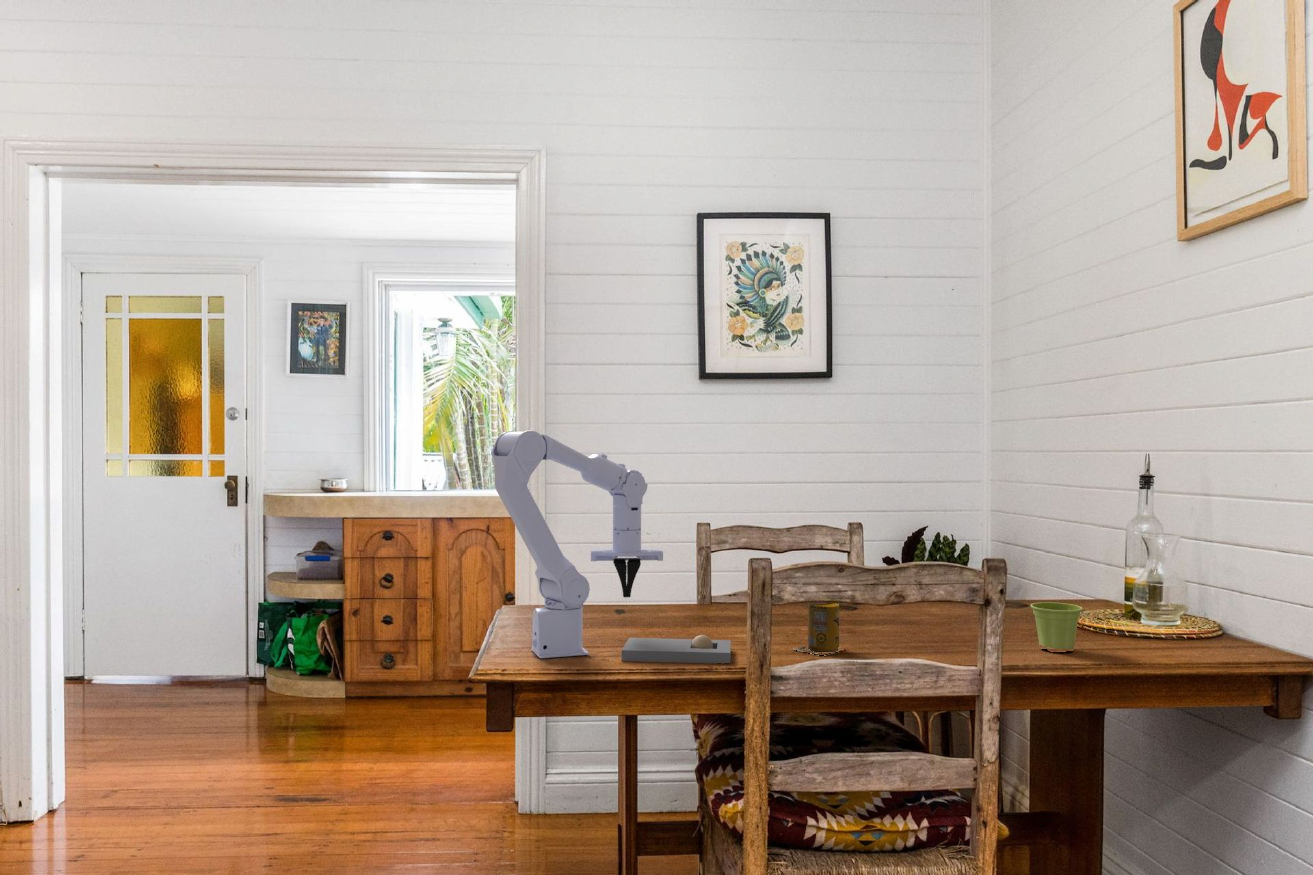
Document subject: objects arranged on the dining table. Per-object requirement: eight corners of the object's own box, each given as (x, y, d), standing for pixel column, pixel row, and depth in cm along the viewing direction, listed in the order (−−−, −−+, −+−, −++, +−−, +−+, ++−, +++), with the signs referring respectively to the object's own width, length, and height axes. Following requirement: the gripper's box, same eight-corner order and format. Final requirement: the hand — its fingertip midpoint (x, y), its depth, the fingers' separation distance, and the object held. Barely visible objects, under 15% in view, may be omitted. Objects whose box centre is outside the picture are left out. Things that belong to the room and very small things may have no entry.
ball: (709, 640, 168) (703, 660, 168) (718, 638, 171) (712, 658, 171) (691, 632, 170) (685, 652, 170) (700, 631, 173) (694, 650, 173)
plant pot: (1030, 653, 174) (1030, 608, 174) (1030, 643, 183) (1030, 600, 183) (1084, 657, 170) (1084, 611, 170) (1080, 647, 179) (1080, 603, 179)
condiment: (848, 650, 176) (848, 588, 176) (822, 657, 170) (822, 593, 170) (817, 644, 181) (817, 584, 181) (791, 650, 175) (792, 589, 176)
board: (621, 660, 166) (621, 650, 166) (629, 647, 177) (629, 637, 177) (730, 663, 164) (730, 652, 164) (730, 650, 175) (730, 639, 175)
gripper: (591, 531, 177) (591, 600, 177) (664, 530, 178) (664, 599, 178) (590, 527, 184) (590, 594, 184) (661, 527, 185) (660, 593, 185)
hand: (626, 596), depth 181 cm, fingers closed
